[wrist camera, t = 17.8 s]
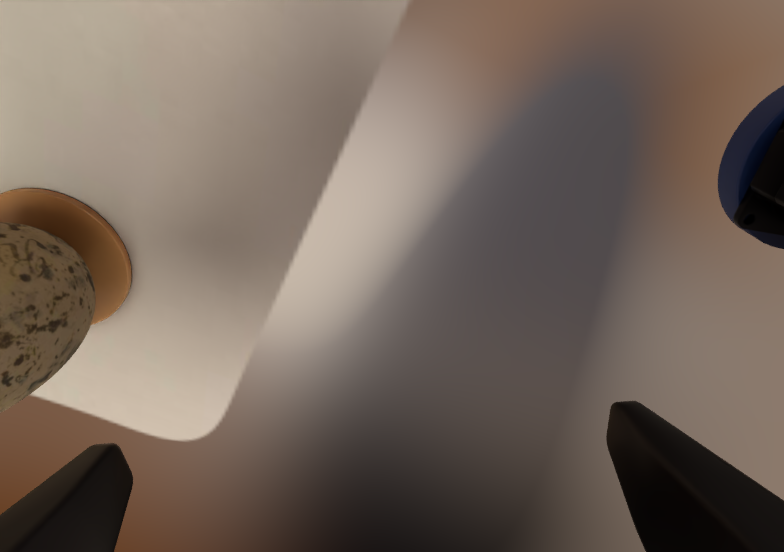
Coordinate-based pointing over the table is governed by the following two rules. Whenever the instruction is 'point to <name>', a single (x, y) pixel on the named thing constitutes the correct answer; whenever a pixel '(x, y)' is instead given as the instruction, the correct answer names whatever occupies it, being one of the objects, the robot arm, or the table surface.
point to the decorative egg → (39, 308)
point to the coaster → (76, 239)
